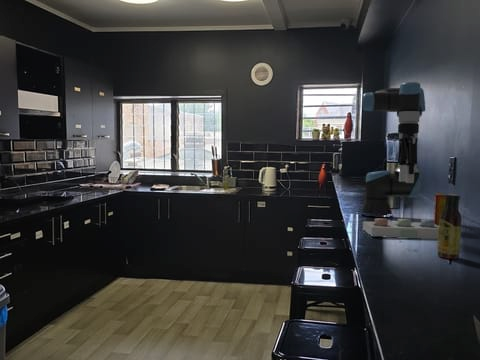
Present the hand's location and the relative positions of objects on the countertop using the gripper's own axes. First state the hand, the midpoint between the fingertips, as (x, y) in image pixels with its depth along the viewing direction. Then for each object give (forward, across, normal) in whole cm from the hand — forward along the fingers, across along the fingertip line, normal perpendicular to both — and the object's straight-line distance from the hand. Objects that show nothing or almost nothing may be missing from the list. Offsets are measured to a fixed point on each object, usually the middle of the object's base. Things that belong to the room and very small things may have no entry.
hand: (406, 182), depth 171 cm
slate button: (+18, 0, +9) cm, 20 cm away
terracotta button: (+18, 0, -9) cm, 20 cm away
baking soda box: (+21, -12, +20) cm, 32 cm away
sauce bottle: (+21, +36, +2) cm, 41 cm away
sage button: (+18, 0, 0) cm, 18 cm away
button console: (+21, -2, 0) cm, 21 cm away
